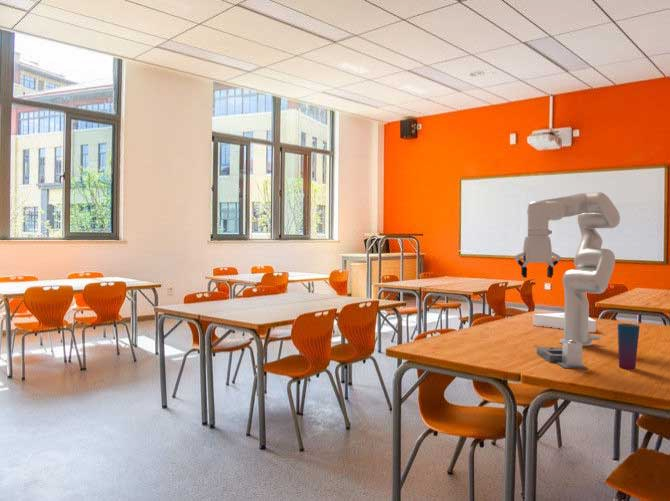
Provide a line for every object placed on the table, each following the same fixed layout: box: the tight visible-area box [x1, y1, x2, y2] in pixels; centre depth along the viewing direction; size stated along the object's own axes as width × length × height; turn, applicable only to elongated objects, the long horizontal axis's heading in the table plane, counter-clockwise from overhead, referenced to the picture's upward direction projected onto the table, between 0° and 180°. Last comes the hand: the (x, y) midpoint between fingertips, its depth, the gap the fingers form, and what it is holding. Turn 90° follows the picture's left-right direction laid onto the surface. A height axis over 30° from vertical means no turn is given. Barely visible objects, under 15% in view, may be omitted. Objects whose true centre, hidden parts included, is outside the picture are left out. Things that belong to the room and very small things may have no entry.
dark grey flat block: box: [536, 346, 562, 363], centre depth 208 cm, size 10×15×3 cm, turn 177°
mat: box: [555, 362, 589, 370], centre depth 195 cm, size 8×8×1 cm
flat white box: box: [532, 312, 597, 334], centre depth 283 cm, size 30×26×6 cm
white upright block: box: [561, 340, 583, 367], centre depth 195 cm, size 5×5×9 cm
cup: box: [617, 322, 640, 370], centre depth 194 cm, size 7×7×15 cm
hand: (537, 277), depth 217 cm, fingers open, 9 cm apart
